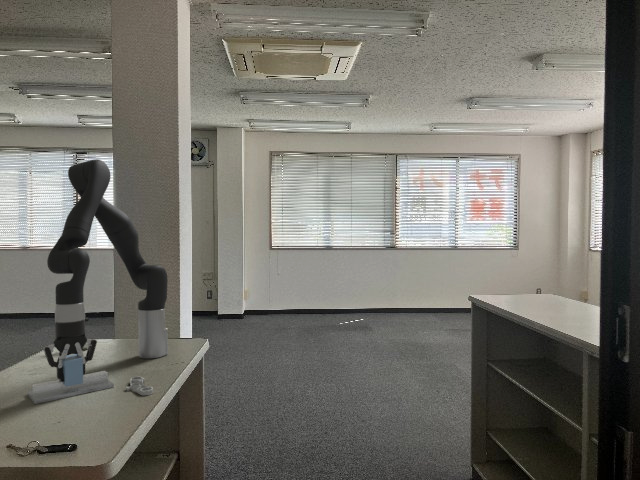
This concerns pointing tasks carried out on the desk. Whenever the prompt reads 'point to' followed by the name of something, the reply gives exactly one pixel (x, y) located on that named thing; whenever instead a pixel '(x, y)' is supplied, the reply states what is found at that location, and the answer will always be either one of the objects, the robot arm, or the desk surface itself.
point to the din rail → (70, 392)
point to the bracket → (139, 386)
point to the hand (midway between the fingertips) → (71, 378)
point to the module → (73, 370)
